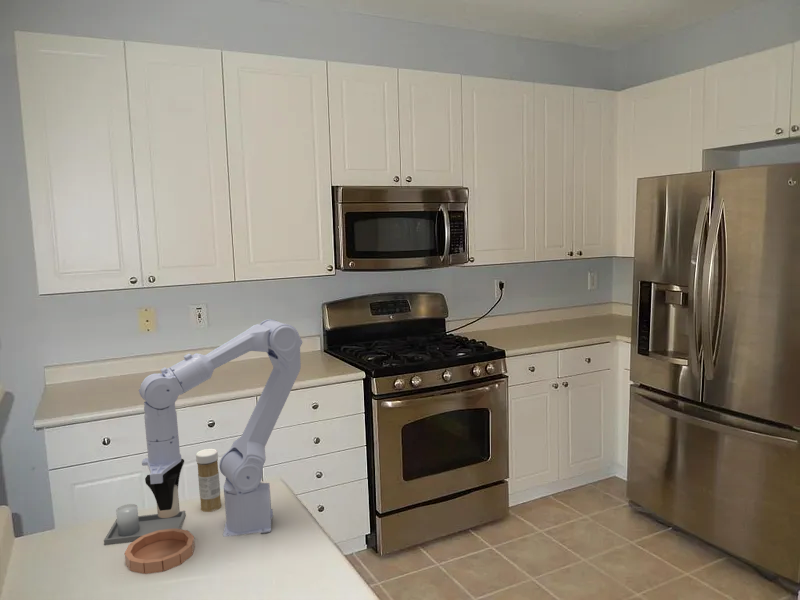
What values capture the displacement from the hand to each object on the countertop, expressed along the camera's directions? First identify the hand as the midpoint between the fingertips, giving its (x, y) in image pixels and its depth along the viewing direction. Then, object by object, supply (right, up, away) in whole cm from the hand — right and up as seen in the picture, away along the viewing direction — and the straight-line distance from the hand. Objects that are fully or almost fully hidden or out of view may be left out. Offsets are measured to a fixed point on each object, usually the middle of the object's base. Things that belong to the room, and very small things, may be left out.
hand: (168, 503), depth 115 cm
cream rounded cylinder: (0, -2, 0) cm, 2 cm away
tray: (-8, -9, +8) cm, 14 cm away
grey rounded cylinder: (-11, -8, +8) cm, 16 cm away
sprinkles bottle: (+3, -7, +17) cm, 19 cm away
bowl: (-1, -10, -2) cm, 10 cm away
